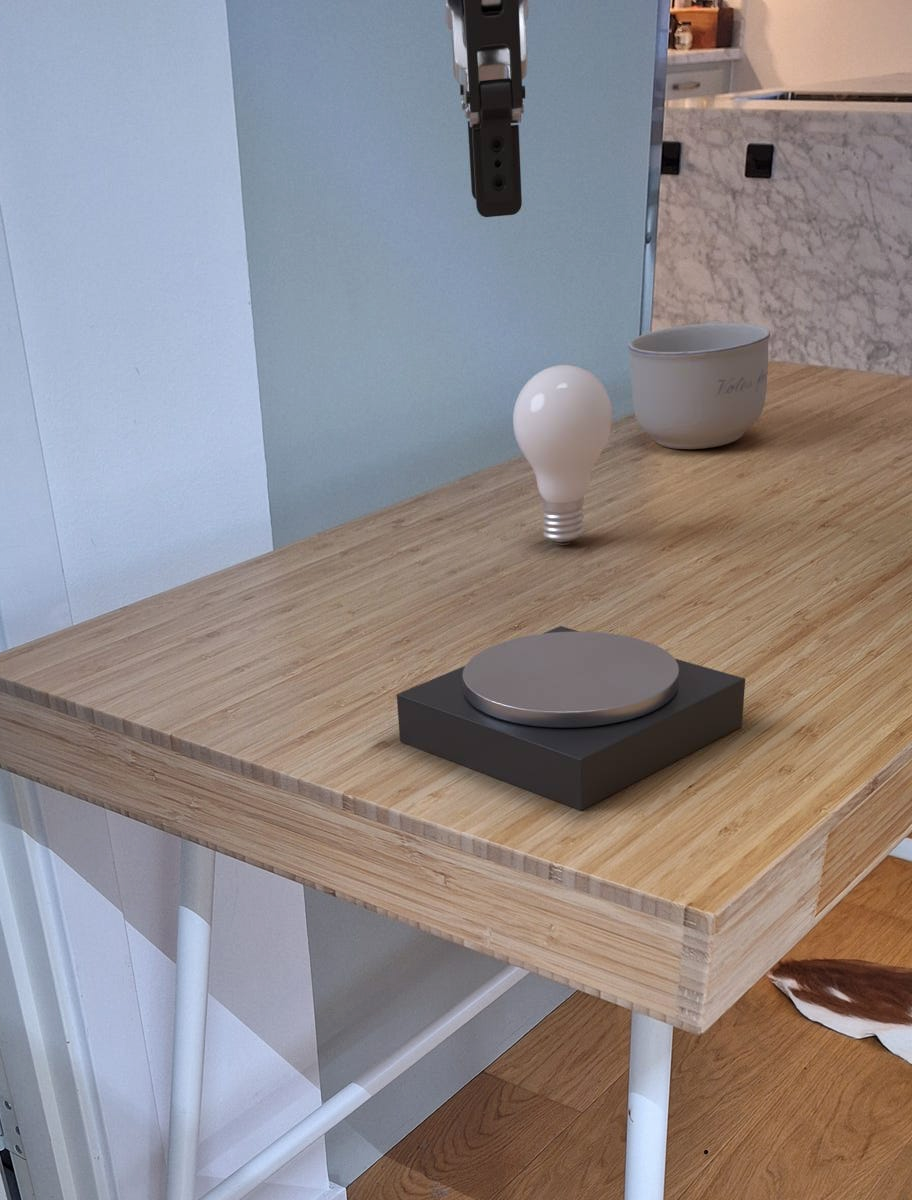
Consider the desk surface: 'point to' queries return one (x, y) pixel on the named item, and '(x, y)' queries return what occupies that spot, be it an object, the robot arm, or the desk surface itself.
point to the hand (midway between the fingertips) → (495, 207)
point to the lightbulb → (562, 441)
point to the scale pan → (570, 679)
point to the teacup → (699, 382)
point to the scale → (571, 736)
